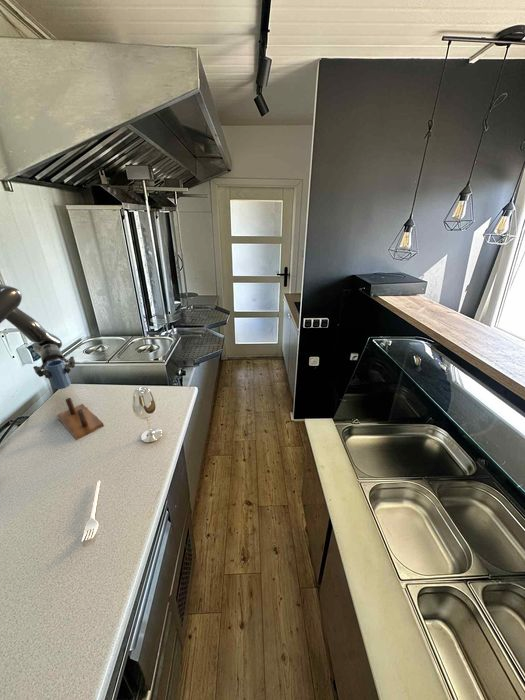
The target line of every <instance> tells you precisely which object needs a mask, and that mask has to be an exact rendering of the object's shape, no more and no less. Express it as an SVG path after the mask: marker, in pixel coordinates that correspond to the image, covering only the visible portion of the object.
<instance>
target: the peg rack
mask: <svg viewBox="0 0 525 700" xmlns="http://www.w3.org/2000/svg"><path fill="white" fill-rule="evenodd" d="M64 400H65V403H66V406H67V408H68V410H65V411H63V412H61V413H59V414H57V415H56V418H57V419H58V421H59V422H60V423H61V424H62V425H63V426H64V427H65V428H66V430H67V431H68V432H69V433H70V434H71V435H72V436H73V438H74V439H75V440H76V441H77V440H79V439H81V438H83V437H85V436H87V435H89V434H91V433H93V432H95V431H97V430H99V429H101V428H102V427H104V426H105V425H104V422H103V421H102V420H100V419H99V418H98V417H97V416H96V415H95V413H93V412H92V411H91V410H90V409H89V408H88V407H87V406H85V404H83V403H81V404H79V405H77V406H75V405H74V403H73V400H72V398H71V397H67V398H65V399H64Z"/></svg>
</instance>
